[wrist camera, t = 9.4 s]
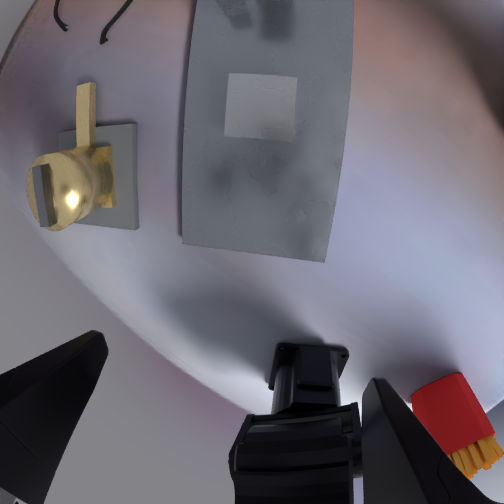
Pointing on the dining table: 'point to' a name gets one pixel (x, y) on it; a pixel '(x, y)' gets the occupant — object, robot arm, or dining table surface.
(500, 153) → the dining table surface
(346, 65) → the lock base
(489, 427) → the french fries
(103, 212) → the mat
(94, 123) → the gold rounded piece
